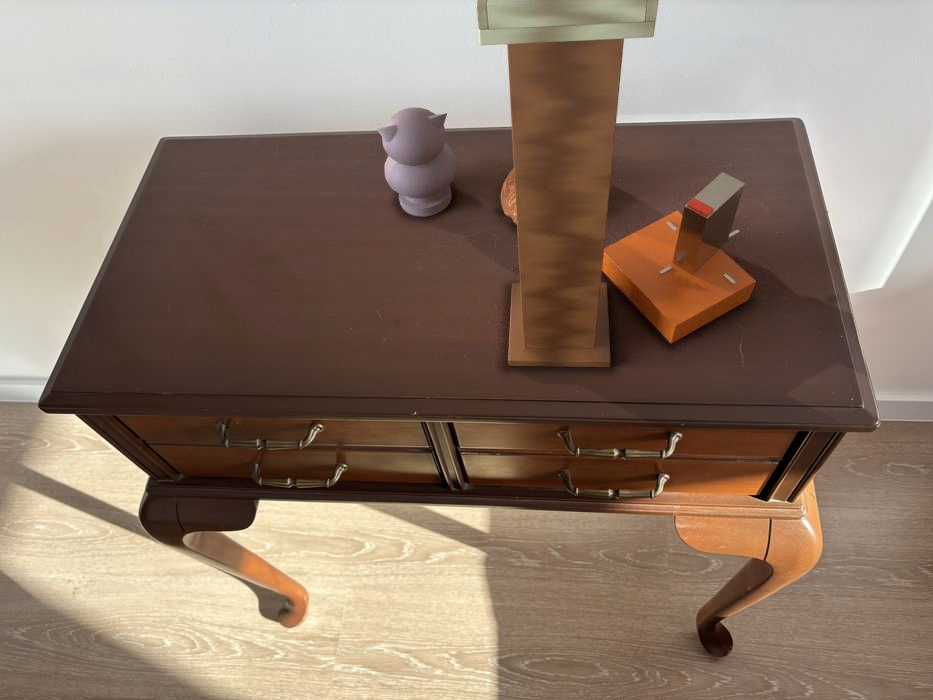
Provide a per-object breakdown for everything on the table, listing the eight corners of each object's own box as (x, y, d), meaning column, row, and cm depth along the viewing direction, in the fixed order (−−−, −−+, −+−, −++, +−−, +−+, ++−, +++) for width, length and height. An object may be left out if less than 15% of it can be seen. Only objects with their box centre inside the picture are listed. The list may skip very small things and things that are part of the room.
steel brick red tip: (706, 229, 73) (722, 169, 66) (727, 241, 72) (745, 181, 65) (671, 262, 71) (684, 203, 64) (692, 274, 70) (707, 216, 63)
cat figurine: (451, 167, 87) (439, 84, 77) (468, 209, 83) (457, 126, 73) (385, 185, 86) (364, 103, 77) (399, 228, 82) (379, 147, 72)
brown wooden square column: (606, 288, 74) (646, -93, 43) (609, 367, 68) (659, -5, 38) (512, 288, 75) (486, -82, 44) (508, 366, 70) (475, 4, 39)
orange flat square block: (772, 286, 72) (780, 266, 69) (670, 343, 69) (675, 325, 67) (695, 218, 78) (700, 197, 76) (599, 268, 76) (601, 248, 73)
